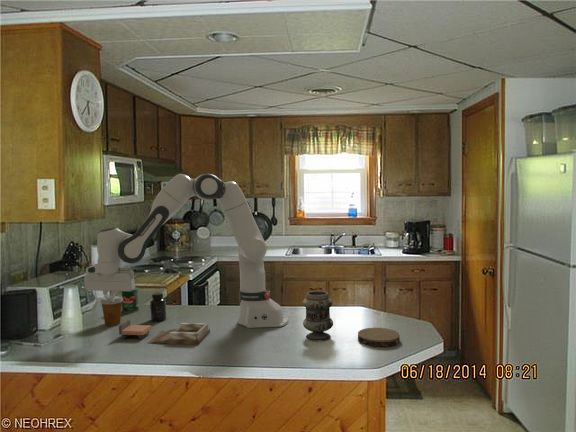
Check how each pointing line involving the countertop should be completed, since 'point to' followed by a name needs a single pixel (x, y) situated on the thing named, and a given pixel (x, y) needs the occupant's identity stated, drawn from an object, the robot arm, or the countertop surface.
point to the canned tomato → (130, 301)
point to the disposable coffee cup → (112, 310)
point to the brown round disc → (378, 337)
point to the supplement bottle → (158, 307)
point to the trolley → (133, 330)
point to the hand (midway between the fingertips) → (110, 301)
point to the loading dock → (183, 334)
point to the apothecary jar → (317, 315)
